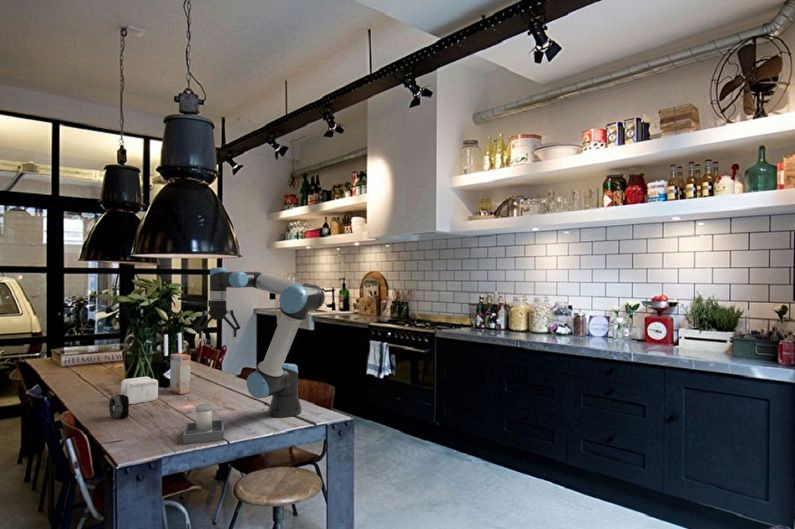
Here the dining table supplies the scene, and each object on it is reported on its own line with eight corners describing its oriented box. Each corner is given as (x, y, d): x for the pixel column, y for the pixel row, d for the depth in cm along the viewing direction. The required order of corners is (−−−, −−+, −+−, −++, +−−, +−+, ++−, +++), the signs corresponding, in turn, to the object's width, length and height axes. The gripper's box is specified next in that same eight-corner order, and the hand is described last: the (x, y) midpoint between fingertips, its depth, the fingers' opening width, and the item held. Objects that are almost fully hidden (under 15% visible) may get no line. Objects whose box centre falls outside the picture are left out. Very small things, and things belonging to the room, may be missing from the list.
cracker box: (190, 393, 271) (191, 355, 272) (179, 395, 267) (180, 356, 267) (180, 389, 281) (180, 352, 281) (169, 391, 277) (170, 353, 277)
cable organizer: (151, 397, 262) (152, 375, 262) (158, 401, 254) (158, 378, 254) (120, 402, 252) (120, 379, 252) (126, 406, 244) (126, 382, 244)
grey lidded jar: (212, 430, 201) (211, 403, 201) (212, 434, 196) (212, 406, 196) (196, 432, 199) (195, 405, 199) (196, 437, 193) (195, 409, 193)
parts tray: (223, 428, 207) (223, 419, 207) (223, 440, 192) (223, 431, 192) (186, 431, 202) (186, 423, 203) (183, 444, 187) (183, 435, 187)
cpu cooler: (108, 417, 225) (108, 394, 225) (122, 414, 229) (122, 392, 229) (115, 421, 217) (116, 398, 218) (129, 418, 222) (129, 396, 222)
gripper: (245, 299, 241) (245, 342, 240) (190, 300, 232) (189, 345, 232) (245, 299, 234) (245, 344, 233) (189, 300, 225) (188, 347, 225)
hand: (217, 345), depth 232 cm, fingers open, 13 cm apart
